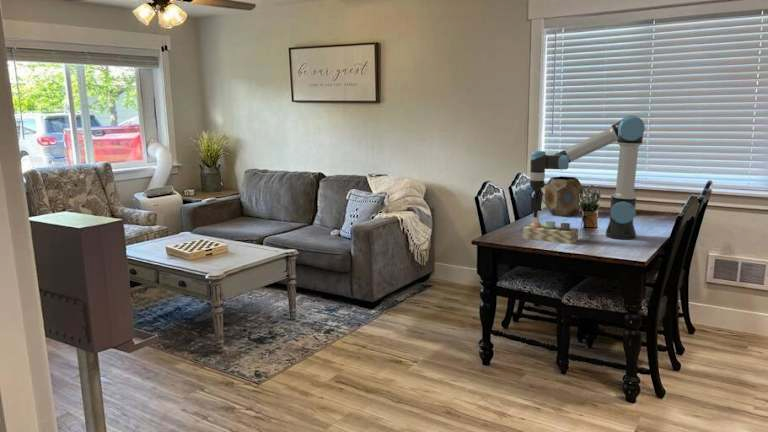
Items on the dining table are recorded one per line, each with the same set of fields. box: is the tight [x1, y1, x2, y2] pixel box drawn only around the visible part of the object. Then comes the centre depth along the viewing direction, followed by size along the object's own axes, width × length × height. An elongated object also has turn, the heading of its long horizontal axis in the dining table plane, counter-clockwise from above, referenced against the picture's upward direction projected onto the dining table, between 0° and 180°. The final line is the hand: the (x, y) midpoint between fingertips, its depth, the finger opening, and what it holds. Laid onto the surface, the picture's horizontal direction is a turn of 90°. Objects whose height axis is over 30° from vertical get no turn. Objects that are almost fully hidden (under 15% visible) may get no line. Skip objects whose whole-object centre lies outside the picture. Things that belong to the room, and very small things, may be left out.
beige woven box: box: [522, 223, 579, 245], centre depth 309 cm, size 26×12×6 cm, turn 53°
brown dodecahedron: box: [543, 176, 584, 217], centre depth 376 cm, size 22×24×24 cm
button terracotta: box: [531, 222, 542, 228], centre depth 313 cm, size 5×5×4 cm
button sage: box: [545, 220, 556, 230], centre depth 308 cm, size 5×5×4 cm
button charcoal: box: [560, 222, 571, 231], centre depth 304 cm, size 5×5×4 cm
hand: (535, 222), depth 313 cm, fingers closed
